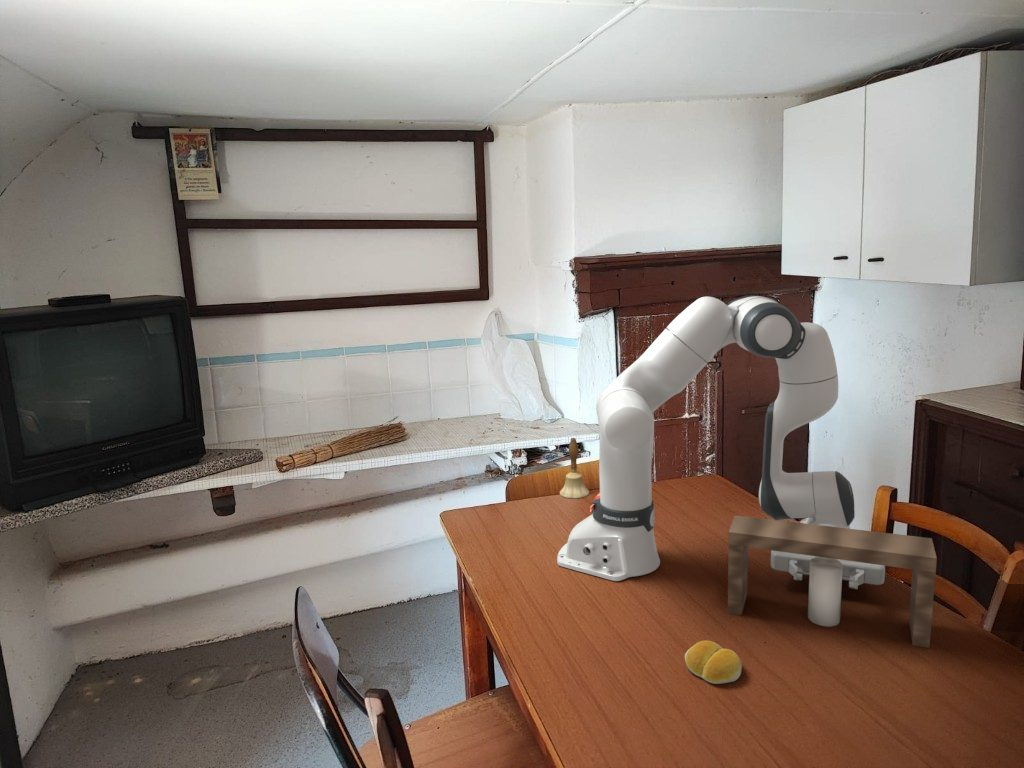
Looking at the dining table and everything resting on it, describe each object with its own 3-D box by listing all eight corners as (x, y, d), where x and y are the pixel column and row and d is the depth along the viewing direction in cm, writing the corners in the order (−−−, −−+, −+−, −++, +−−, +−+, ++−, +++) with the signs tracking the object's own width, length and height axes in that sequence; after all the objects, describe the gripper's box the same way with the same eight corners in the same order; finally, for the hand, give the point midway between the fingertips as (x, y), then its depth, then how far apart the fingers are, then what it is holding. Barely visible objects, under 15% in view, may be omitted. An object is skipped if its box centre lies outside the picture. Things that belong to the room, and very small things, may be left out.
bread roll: (724, 693, 111) (724, 670, 110) (677, 668, 118) (677, 647, 117) (752, 670, 116) (753, 648, 116) (706, 648, 123) (706, 627, 122)
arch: (727, 613, 133) (728, 532, 130) (733, 592, 140) (734, 515, 137) (929, 648, 119) (936, 558, 116) (924, 623, 126) (931, 538, 123)
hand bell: (569, 486, 202) (567, 432, 199) (594, 490, 198) (593, 436, 194) (554, 495, 196) (551, 440, 192) (580, 501, 191) (578, 444, 188)
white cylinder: (807, 623, 128) (809, 567, 126) (808, 608, 133) (810, 554, 131) (839, 628, 126) (842, 572, 124) (840, 613, 131) (842, 559, 129)
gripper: (773, 528, 147) (766, 557, 135) (883, 541, 138) (887, 573, 126) (772, 556, 148) (765, 587, 136) (881, 571, 140) (885, 605, 128)
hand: (825, 581), depth 131 cm, fingers open, 8 cm apart
